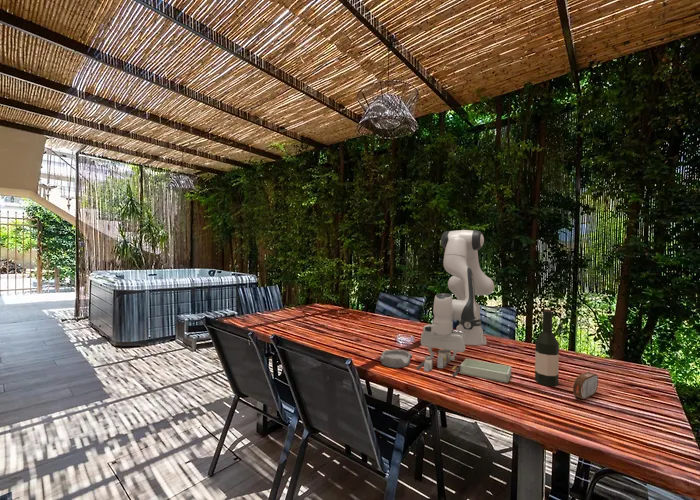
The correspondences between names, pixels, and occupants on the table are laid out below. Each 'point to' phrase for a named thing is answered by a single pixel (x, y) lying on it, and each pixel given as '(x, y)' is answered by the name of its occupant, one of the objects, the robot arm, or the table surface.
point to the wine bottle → (547, 354)
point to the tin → (585, 385)
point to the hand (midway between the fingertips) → (442, 358)
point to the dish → (395, 358)
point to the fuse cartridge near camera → (429, 361)
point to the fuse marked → (443, 354)
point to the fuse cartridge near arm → (448, 355)
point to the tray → (486, 370)
